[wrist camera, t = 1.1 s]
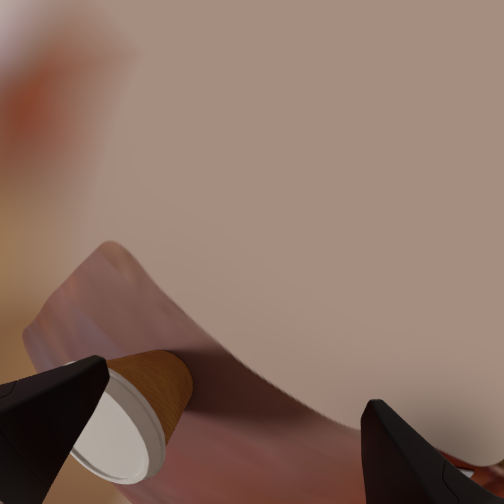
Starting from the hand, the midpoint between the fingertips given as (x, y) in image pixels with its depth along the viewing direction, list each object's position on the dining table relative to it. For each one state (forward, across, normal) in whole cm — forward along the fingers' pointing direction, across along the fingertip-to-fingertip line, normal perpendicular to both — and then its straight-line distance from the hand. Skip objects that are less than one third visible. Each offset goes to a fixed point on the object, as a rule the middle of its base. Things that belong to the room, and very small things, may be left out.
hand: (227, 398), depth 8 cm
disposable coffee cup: (+13, +9, +12) cm, 20 cm away
